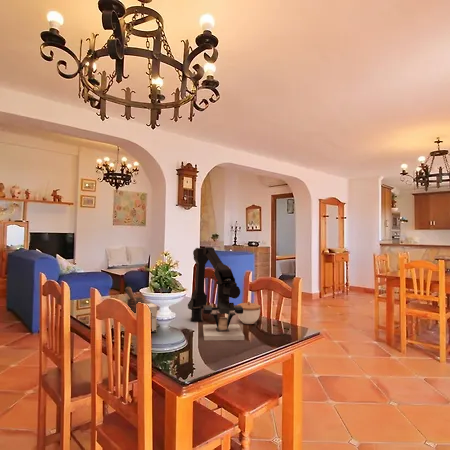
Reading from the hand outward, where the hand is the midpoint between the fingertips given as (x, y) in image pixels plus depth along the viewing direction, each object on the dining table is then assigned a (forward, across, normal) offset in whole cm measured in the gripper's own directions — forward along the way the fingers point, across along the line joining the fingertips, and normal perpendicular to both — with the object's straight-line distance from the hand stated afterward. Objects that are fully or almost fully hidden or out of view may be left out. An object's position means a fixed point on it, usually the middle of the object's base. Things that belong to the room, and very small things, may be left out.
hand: (222, 327), depth 154 cm
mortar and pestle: (+3, -44, +17) cm, 47 cm away
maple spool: (+2, 0, 0) cm, 2 cm away
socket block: (+3, 0, 0) cm, 3 cm away
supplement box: (+3, -36, +5) cm, 36 cm away
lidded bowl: (+3, +16, +20) cm, 26 cm away
